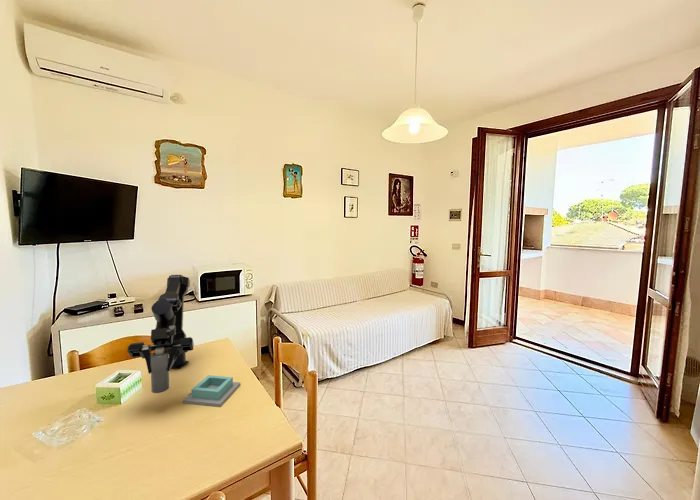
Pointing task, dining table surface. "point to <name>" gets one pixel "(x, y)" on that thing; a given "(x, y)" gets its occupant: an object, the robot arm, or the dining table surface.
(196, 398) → the socket
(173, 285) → the robot arm
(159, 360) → the plug
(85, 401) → the dining table surface
